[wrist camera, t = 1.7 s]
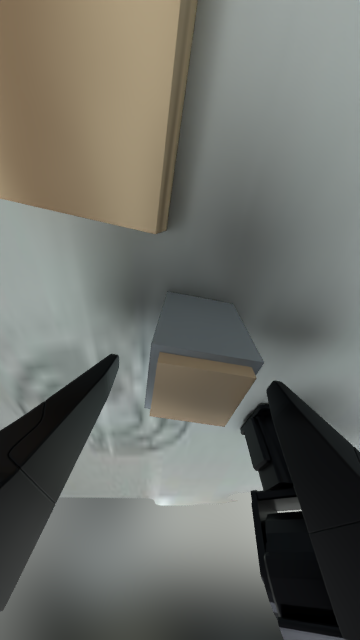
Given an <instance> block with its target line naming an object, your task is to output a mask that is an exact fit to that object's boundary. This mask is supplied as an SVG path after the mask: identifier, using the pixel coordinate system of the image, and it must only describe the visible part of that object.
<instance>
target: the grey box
mask: <svg viewBox="0 0 360 640" xmlns="http://www.w3.org/2000/svg"><path fill="white" fill-rule="evenodd" d="M263 364H264V361H263V359H262V357H261V355H260V354H259V352H258V350H257V348H256V346H255V344H254V342H253V341H252V339H251V337H250V335H249V333H248V331H247V329H246V327H245V326H244V324H243V322H242V320H241V318H240V316H239V314H238V313H237V311H236V309H235V307H234V305H233V303H227V302H222V301H217V300H211V299H206V298H200V297H195V296H190V295H184V294H179V293H174V292H168V291H167V295H166V298H165V301H164V304H163V307H162V311H161V314H160V317H159V320H158V324H157V327H156V330H155V333H154V337H153V340H152V343H151V351H150V361H149V370H148V379H147V389H146V398H145V407H144V408H148V409H150V416H153V417H160V418H167V419H174V420H181V421H188V422H195V423H202V424H209V425H215V426H222V427H225V425H226V424H227V422H228V421H229V419H230V418H231V416H232V415H233V413H234V412H235V410H236V409H237V407H238V406H239V404H240V403H241V401H242V400H243V398H244V397H245V395H246V394H247V392H248V390H249V389H250V387H251V386H252V384H253V383H254V381H255V380H256V374H257V373H258V371H259V370H260V368H261V367H262V365H263Z"/></svg>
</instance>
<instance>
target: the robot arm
mask: <svg viewBox="0 0 360 640" xmlns="http://www.w3.org/2000/svg"><path fill="white" fill-rule="evenodd" d="M118 368H119V356H118V355H115V354H110V355H109V356H107V357H106V358H104V359H103V360H101V361H100V362H99V363H97V364H96V365H94V366H93V367H92V368H90V369H89V370H87V371H86V372H85V373H83V374H82V375H80V376H79V377H78V378H76V379H75V380H73V381H72V382H71V383H69V384H68V385H66V386H65V387H64V388H62V389H61V390H59V391H58V392H56V393H55V394H54V395H52V396H51V397H49V398H48V399H47V400H46V401H44V402H42V403H41V404H40V405H38V406H37V407H35V408H34V409H32V410H31V411H29V412H28V413H27V414H25V415H24V416H22V417H21V418H19V419H18V420H16V421H15V422H13V423H11V424H10V425H8V426H7V427H5V428H4V429H2V430H0V611H3V609H4V607H5V606H6V604H7V602H8V600H9V598H10V596H11V594H12V592H13V590H14V588H15V586H16V584H17V582H18V580H19V578H20V576H21V573H22V571H23V569H24V568H25V565H26V563H27V561H28V559H29V557H30V555H31V553H32V551H33V549H34V547H35V545H36V543H37V541H38V539H39V537H40V535H41V533H42V531H43V529H44V527H45V525H46V523H47V521H48V519H49V517H50V514H51V512H52V510H53V508H54V506H55V503H56V502H57V500H58V498H59V496H60V494H61V492H62V490H63V488H64V486H65V484H66V482H67V480H68V478H69V476H70V474H71V472H72V469H73V467H74V465H75V463H76V461H77V459H78V457H79V455H80V453H81V451H82V449H83V447H84V445H85V443H86V441H87V439H88V437H89V435H90V433H91V431H92V429H93V427H94V425H95V423H96V421H97V419H98V416H99V414H100V412H101V410H102V408H103V406H104V404H105V402H106V400H107V398H108V396H109V393H110V391H111V388H112V385H113V382H114V380H115V377H116V374H117V371H118ZM267 397H268V401H269V405H260V406H258V408H257V409H256V410H255V412H254V413H253V414H252V415H251V417H250V418H249V419H248V420H247V422H246V423H245V424H244V426H243V427H242V428H241V434H242V435H245V438H246V441H247V445H248V449H249V453H250V457H251V460H252V464H253V468H254V469H255V470H256V471H258V472H259V476H260V479H261V483H262V486H263V490H264V491H257V490H254V491H251V497H252V511H253V519H254V527H255V534H256V542H257V550H258V558H259V566H260V574H261V577H262V580H263V582H264V584H265V588H266V592H267V595H268V598H269V601H270V604H271V606H272V609H273V612H274V614H275V616H276V618H277V620H278V624H279V627H280V630H281V633H282V635H283V638H284V640H360V452H359V451H358V450H357V449H356V448H355V447H353V446H352V444H350V443H349V442H348V441H347V440H346V439H345V438H344V437H343V436H342V435H340V434H339V433H338V432H337V431H336V430H335V429H334V428H333V427H331V426H330V425H329V424H328V423H327V422H326V421H325V420H324V419H323V418H321V417H320V416H319V415H318V414H317V413H316V412H315V411H314V410H312V409H311V408H310V407H309V406H308V405H307V404H306V403H305V402H304V401H302V400H301V399H300V398H299V397H298V396H297V395H296V394H295V393H293V392H292V391H291V390H290V389H289V388H288V387H287V386H286V385H285V384H283V383H282V382H280V381H273V382H272V383H271V384H270V386H269V387H268V388H267ZM300 509H301V510H302V511H299V512H285V513H277V511H287V510H300Z"/></svg>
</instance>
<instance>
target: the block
mask: <svg viewBox="0 0 360 640" xmlns="http://www.w3.org/2000/svg"><path fill="white" fill-rule="evenodd" d="M197 2H198V0H0V198H1V199H5V200H9V201H14V202H18V203H22V204H27V205H31V206H35V207H40V208H44V209H48V210H53V211H57V212H61V213H66V214H70V215H74V216H79V217H83V218H87V219H92V220H96V221H100V222H105V223H109V224H113V225H118V226H122V227H126V228H130V229H135V230H139V231H143V232H148V233H152V234H158V233H161V232H163V231H166V229H167V221H168V214H169V207H170V199H171V192H172V185H173V177H174V170H175V163H176V156H177V148H178V141H179V134H180V126H181V119H182V112H183V104H184V97H185V90H186V82H187V75H188V68H189V61H190V53H191V46H192V39H193V31H194V24H195V17H196V9H197Z"/></svg>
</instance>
